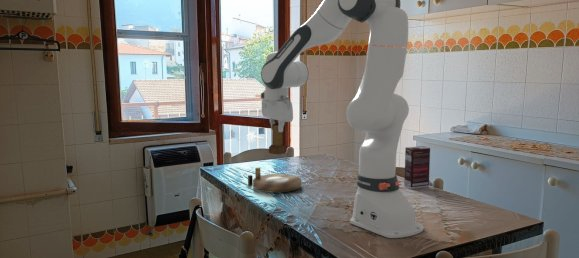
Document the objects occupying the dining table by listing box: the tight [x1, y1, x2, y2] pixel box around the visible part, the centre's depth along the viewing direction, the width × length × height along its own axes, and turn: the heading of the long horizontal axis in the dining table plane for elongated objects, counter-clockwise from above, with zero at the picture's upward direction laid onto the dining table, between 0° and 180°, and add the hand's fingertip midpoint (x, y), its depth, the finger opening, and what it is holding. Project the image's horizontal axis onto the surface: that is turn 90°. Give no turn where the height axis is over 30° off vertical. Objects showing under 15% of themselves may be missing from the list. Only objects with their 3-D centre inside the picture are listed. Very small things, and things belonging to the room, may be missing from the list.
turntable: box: [252, 167, 302, 193], centre depth 162 cm, size 19×19×6 cm
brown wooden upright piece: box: [268, 119, 287, 155], centre depth 159 cm, size 7×6×18 cm
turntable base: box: [247, 174, 254, 187], centre depth 163 cm, size 15×15×4 cm
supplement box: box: [403, 145, 431, 190], centre depth 162 cm, size 9×5×16 cm, turn 109°
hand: (277, 131), depth 159 cm, fingers closed on brown wooden upright piece, 4 cm apart
